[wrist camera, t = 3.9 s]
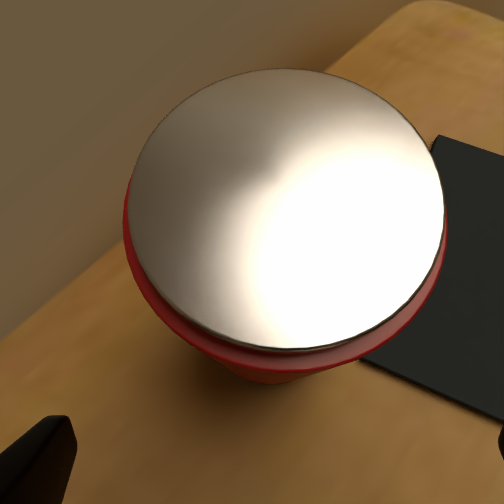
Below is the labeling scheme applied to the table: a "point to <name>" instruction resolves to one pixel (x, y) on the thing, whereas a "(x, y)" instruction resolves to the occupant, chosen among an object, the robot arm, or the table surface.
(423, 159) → the red can
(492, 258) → the desk mat
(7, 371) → the table surface
